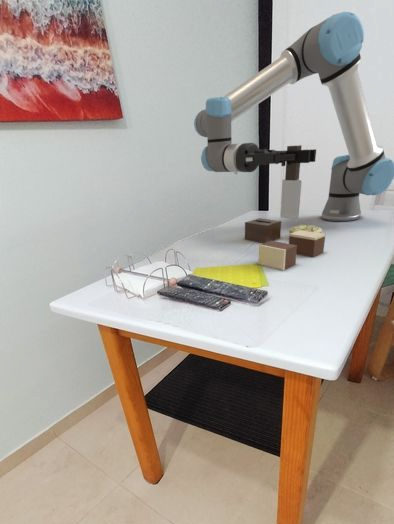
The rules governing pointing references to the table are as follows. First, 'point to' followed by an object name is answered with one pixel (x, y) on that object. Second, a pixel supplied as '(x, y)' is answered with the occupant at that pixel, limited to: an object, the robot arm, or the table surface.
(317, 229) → the decorated donut
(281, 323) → the table surface
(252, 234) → the knife block
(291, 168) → the knife
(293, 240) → the cake
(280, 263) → the cake slice
